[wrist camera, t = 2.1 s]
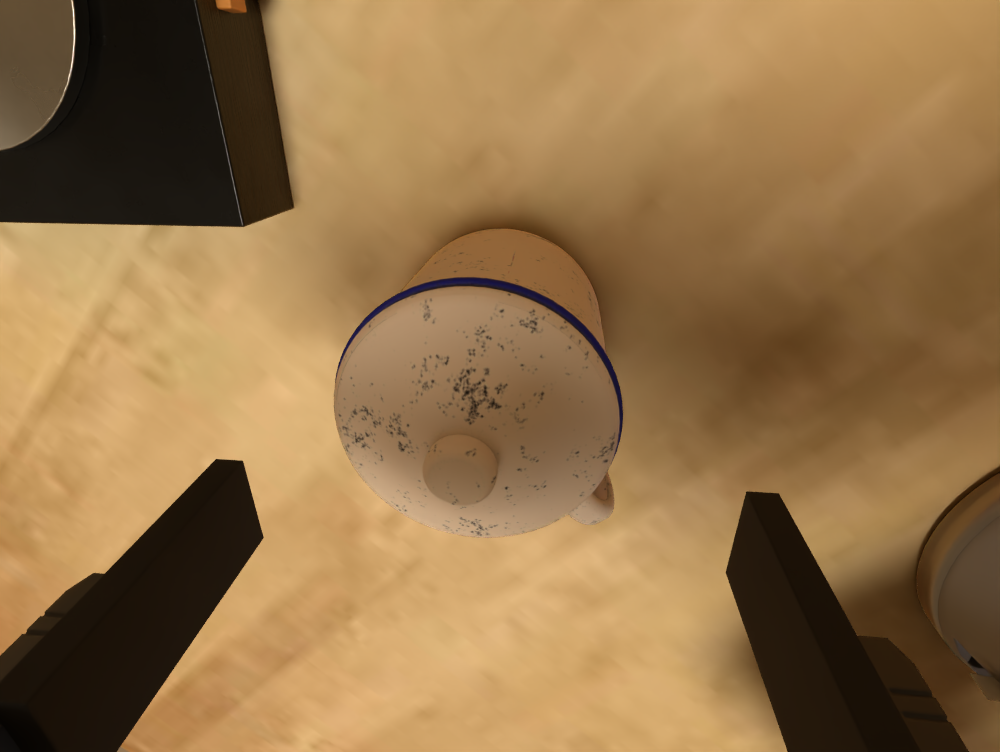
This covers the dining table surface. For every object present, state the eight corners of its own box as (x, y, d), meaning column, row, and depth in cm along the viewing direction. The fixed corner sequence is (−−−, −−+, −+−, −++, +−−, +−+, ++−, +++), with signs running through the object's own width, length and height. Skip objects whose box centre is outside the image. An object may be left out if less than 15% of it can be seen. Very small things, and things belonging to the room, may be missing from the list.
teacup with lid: (365, 304, 25) (220, 447, 14) (519, 173, 22) (475, 235, 11) (526, 478, 28) (502, 694, 18) (680, 387, 25) (761, 588, 15)
